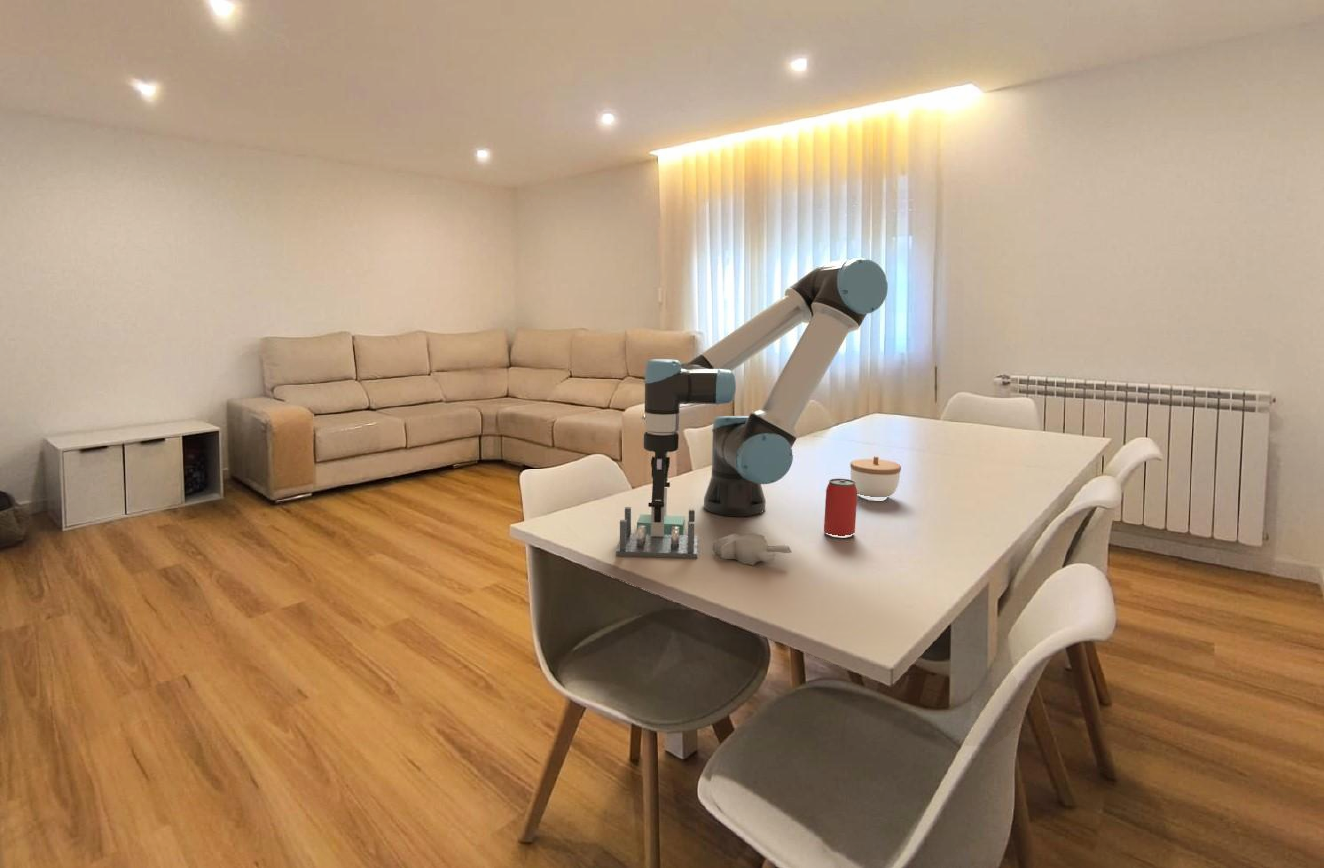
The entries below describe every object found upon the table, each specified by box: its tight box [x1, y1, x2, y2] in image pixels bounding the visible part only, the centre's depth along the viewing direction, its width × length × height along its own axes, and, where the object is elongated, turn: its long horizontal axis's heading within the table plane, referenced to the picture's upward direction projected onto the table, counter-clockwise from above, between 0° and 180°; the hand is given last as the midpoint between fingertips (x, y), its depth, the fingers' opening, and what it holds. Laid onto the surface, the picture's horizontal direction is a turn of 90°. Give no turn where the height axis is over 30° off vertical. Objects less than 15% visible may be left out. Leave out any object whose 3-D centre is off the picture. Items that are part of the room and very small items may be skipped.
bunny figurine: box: [711, 533, 792, 566], centre depth 132 cm, size 10×5×15 cm
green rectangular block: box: [636, 514, 686, 535], centre depth 150 cm, size 10×6×3 cm, turn 84°
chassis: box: [615, 506, 698, 560], centre depth 138 cm, size 16×11×7 cm
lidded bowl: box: [849, 455, 902, 497], centre depth 177 cm, size 13×13×11 cm
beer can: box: [823, 477, 858, 536], centre depth 148 cm, size 7×7×12 cm
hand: (658, 526), depth 150 cm, fingers open, 13 cm apart
